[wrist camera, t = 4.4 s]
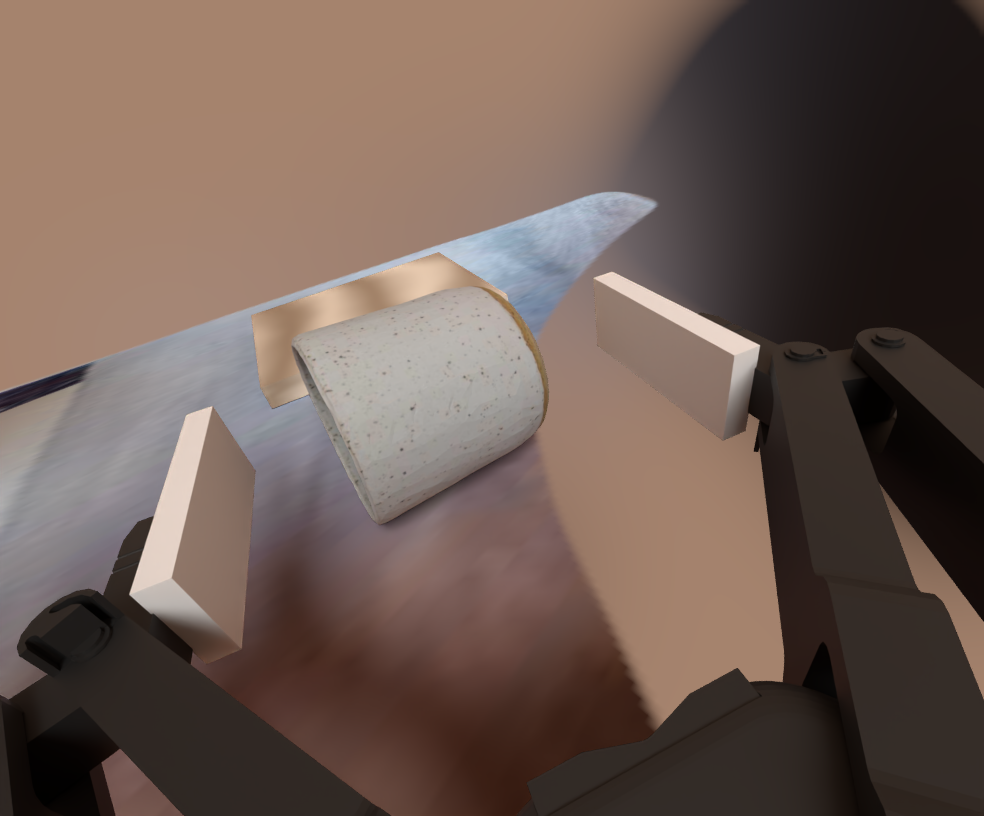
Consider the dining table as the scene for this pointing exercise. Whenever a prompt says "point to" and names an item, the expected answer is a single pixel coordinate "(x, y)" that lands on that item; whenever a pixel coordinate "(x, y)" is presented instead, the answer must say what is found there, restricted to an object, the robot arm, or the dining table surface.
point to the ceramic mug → (424, 392)
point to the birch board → (344, 315)
